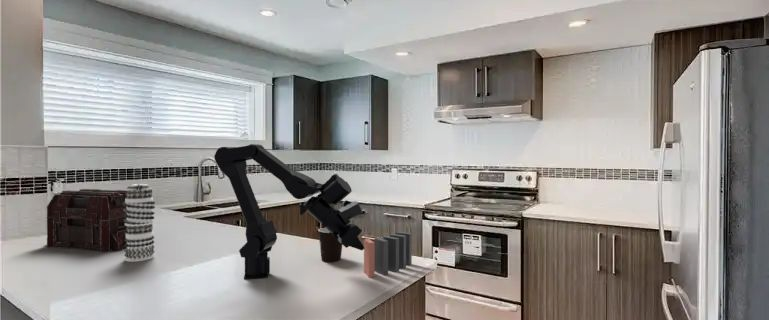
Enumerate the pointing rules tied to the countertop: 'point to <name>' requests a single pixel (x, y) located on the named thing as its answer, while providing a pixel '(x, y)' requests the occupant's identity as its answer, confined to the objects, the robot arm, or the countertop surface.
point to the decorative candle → (139, 222)
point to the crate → (87, 220)
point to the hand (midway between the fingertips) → (363, 249)
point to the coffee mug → (329, 246)
